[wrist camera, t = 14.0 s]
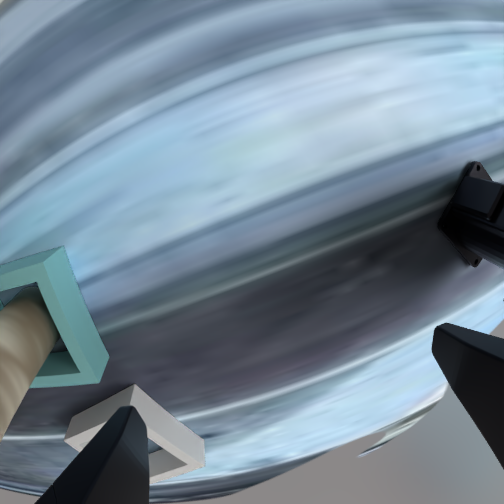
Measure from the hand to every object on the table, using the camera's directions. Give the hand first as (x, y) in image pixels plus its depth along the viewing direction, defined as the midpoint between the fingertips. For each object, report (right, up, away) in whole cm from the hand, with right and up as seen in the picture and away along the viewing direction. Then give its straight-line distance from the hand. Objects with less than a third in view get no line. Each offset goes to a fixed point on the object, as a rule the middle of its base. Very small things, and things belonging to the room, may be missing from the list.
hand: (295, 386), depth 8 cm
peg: (-16, -1, +11) cm, 20 cm away
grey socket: (-11, -12, +15) cm, 22 cm away
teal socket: (-16, -1, +11) cm, 20 cm away
